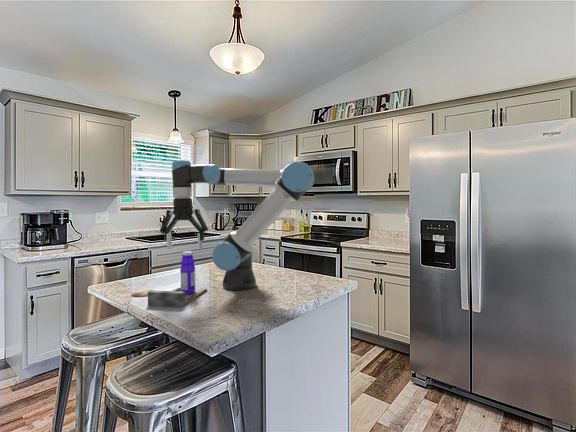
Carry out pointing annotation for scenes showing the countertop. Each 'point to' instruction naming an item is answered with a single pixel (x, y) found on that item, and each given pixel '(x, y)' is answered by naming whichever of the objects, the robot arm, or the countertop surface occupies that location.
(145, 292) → the cork trivet
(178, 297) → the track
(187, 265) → the bottle
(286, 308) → the countertop surface
